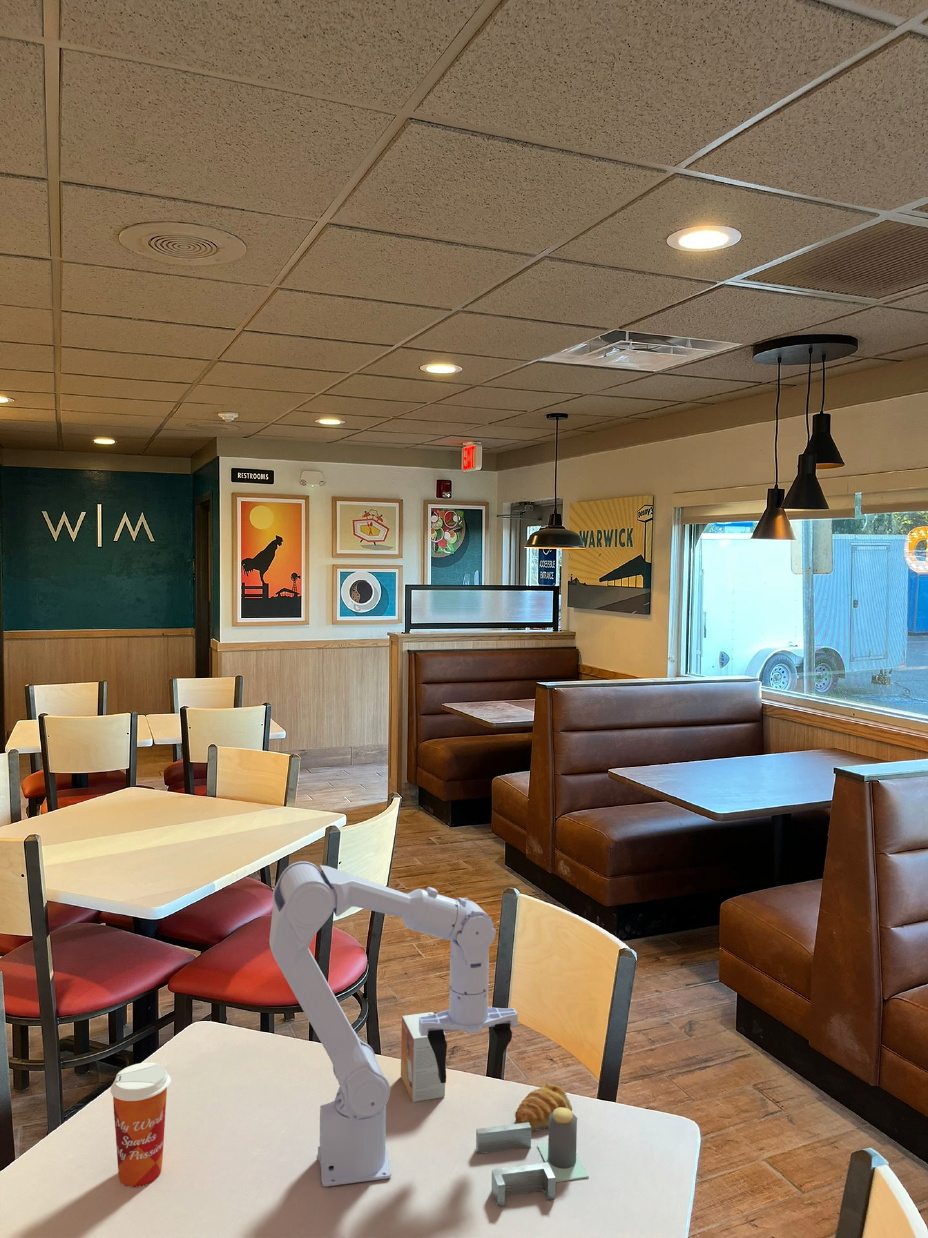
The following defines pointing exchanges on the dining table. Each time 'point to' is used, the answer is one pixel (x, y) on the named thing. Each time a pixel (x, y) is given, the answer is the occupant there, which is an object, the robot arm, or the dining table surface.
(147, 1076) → the paper cup
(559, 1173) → the mat
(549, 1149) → the grey canister
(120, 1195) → the dining table surface
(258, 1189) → the dining table surface
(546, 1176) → the metal brackets
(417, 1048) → the small box
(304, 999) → the robot arm
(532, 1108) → the pastry
